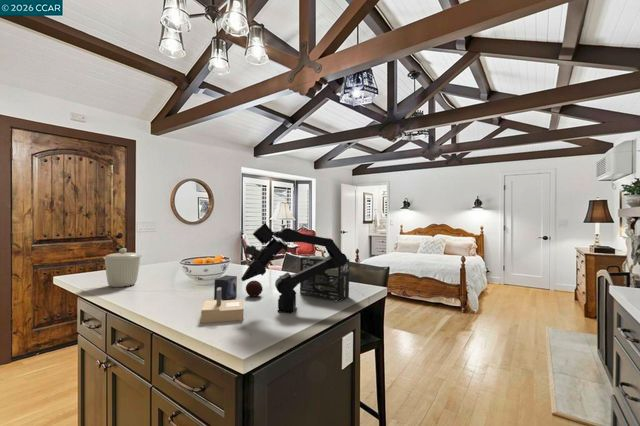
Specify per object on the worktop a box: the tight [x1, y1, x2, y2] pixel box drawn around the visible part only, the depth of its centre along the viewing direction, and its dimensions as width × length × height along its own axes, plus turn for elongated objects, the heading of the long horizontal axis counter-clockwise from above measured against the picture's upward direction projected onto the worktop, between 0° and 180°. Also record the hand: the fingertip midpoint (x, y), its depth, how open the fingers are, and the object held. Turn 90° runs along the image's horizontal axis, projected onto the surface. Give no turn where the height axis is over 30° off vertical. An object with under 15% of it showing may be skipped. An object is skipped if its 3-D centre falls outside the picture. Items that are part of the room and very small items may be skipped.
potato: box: [245, 280, 263, 297], centre depth 148 cm, size 8×9×8 cm
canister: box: [102, 247, 142, 288], centre depth 170 cm, size 18×18×21 cm
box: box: [299, 254, 350, 302], centre depth 149 cm, size 23×10×19 cm, turn 58°
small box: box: [213, 274, 238, 301], centre depth 142 cm, size 11×6×10 cm, turn 168°
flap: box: [200, 287, 222, 313], centre depth 118 cm, size 6×13×6 cm, turn 15°
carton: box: [200, 299, 244, 324], centre depth 119 cm, size 15×14×4 cm
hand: (242, 279), depth 121 cm, fingers closed
